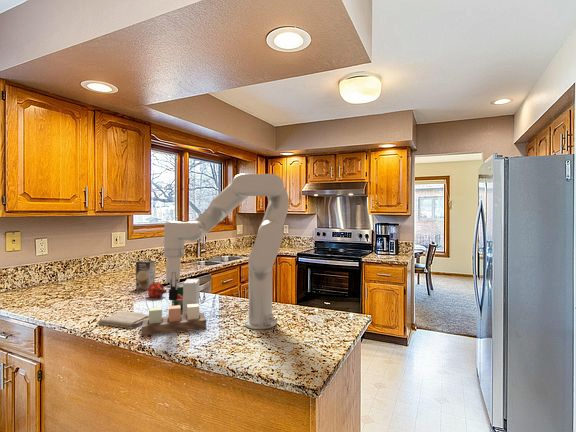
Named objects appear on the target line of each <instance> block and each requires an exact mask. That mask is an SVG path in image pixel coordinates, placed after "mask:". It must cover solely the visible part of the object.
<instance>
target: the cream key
mask: <svg viewBox="0 0 576 432" xmlns="http://www.w3.org/2000/svg"><path fill="white" fill-rule="evenodd" d="M199 313H200V303H199V304H187V320H193V319H199Z"/></svg>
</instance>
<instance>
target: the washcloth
mask: <svg viewBox="0 0 576 432" xmlns="http://www.w3.org/2000/svg"><path fill="white" fill-rule="evenodd" d="M145 318H149V314H146V313H143V312H135V311H127V310H126V311H125V310H122V311H118V312H115V313H114V314H112V315H110V316H109V315H108V316H105V317H103V318H101V319H99V320H98V321H97V322H98V324H99V325H102V324H103V325H104V326H109V325H111V326H110V327H118V326H120V327H119V328H125V327H127V328H126V329H133V328H137V327H139V326H142V323H143V319H145ZM103 325H102V326H103Z"/></svg>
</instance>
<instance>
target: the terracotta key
mask: <svg viewBox="0 0 576 432" xmlns="http://www.w3.org/2000/svg"><path fill="white" fill-rule="evenodd" d="M181 312H182V311H181V307H180V305H176V306H172V305H168V316H169V322H174V321H181V315H182V313H181Z"/></svg>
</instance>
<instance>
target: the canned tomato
mask: <svg viewBox="0 0 576 432" xmlns="http://www.w3.org/2000/svg"><path fill="white" fill-rule="evenodd" d="M177 289H178V298H177V300H171V306H176V305H180V307H181V312H183V283H177Z"/></svg>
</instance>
